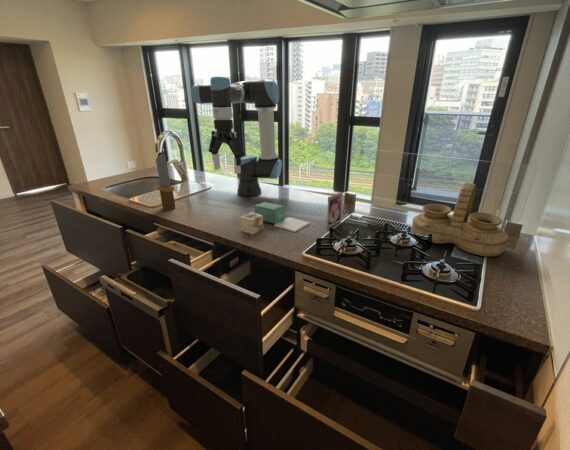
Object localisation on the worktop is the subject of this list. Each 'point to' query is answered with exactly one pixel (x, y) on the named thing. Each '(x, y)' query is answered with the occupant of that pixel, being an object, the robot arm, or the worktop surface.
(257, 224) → the letter cube
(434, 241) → the ceramic vessel
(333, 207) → the greeting card
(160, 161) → the knife
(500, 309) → the worktop surface
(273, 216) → the box
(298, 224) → the tile
